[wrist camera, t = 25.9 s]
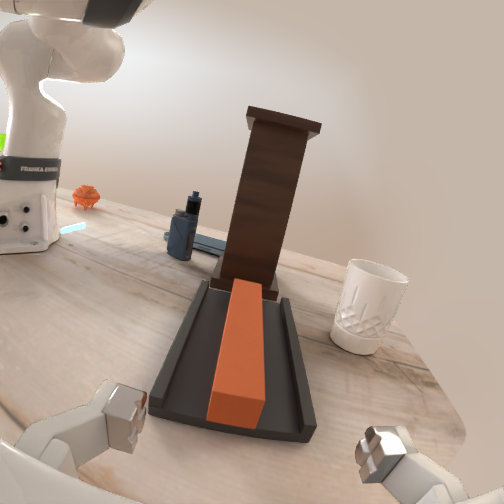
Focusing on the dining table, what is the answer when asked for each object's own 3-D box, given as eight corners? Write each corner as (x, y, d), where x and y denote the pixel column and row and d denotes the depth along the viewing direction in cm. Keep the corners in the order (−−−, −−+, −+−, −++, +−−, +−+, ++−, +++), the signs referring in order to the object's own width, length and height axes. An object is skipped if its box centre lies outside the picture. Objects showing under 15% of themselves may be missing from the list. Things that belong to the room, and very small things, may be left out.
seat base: (308, 443, 20) (317, 426, 20) (147, 414, 20) (148, 395, 19) (285, 311, 43) (288, 298, 43) (200, 293, 43) (202, 279, 42)
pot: (65, 207, 70) (70, 181, 70) (75, 209, 78) (80, 186, 77) (92, 210, 71) (97, 184, 71) (101, 213, 79) (105, 188, 79)
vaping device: (183, 262, 53) (196, 193, 50) (163, 252, 56) (174, 186, 53) (193, 260, 56) (206, 193, 53) (173, 250, 58) (184, 187, 55)
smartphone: (181, 228, 71) (240, 245, 67) (180, 235, 72) (239, 252, 67) (161, 232, 64) (225, 250, 60) (161, 240, 65) (223, 259, 60)
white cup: (313, 332, 39) (336, 258, 36) (348, 323, 44) (370, 258, 41) (359, 364, 33) (391, 284, 30) (391, 349, 38) (418, 280, 35)
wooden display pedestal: (276, 303, 45) (321, 123, 39) (208, 289, 45) (248, 105, 38) (272, 273, 59) (306, 134, 52) (219, 261, 58) (250, 121, 52)
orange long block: (255, 429, 20) (265, 400, 19) (205, 420, 19) (212, 390, 19) (256, 304, 41) (261, 284, 40) (230, 299, 41) (234, 278, 40)
